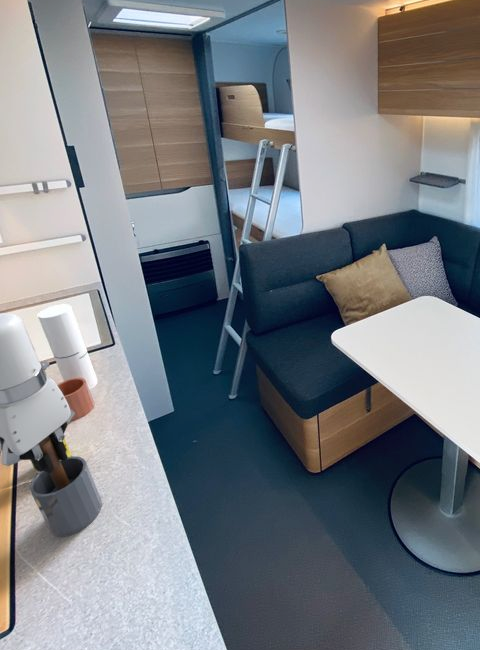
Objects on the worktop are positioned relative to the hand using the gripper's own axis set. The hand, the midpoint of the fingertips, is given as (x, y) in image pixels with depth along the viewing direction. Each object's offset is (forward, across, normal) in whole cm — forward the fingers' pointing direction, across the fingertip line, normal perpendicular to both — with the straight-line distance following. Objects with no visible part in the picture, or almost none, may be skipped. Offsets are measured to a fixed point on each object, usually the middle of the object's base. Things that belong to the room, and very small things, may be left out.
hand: (53, 463), depth 76 cm
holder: (+14, -22, -26) cm, 37 cm away
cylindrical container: (+14, -30, -33) cm, 47 cm away
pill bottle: (+14, -8, -15) cm, 22 cm away
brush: (+13, 0, 0) cm, 13 cm away
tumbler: (+14, 0, 0) cm, 14 cm away
